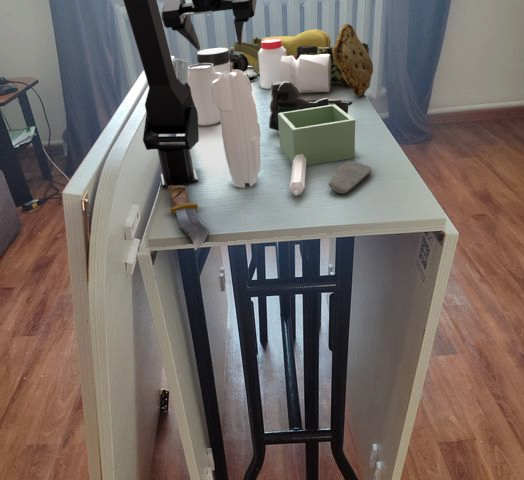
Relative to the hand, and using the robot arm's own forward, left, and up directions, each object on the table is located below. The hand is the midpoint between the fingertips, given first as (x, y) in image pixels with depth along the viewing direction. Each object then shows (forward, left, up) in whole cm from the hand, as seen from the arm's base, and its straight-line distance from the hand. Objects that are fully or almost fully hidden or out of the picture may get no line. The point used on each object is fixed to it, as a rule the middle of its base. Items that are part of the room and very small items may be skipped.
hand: (219, 46), depth 114 cm
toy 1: (+39, -4, -13) cm, 41 cm away
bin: (-27, -13, -16) cm, 34 cm away
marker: (-41, -6, -16) cm, 44 cm away
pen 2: (+7, -21, -16) cm, 27 cm away
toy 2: (+64, -16, -14) cm, 67 cm away
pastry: (+12, -33, -9) cm, 36 cm away
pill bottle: (+30, -18, -16) cm, 38 cm away
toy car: (+18, -30, -11) cm, 37 cm away
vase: (+15, -29, -12) cm, 35 cm away
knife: (-47, +12, -15) cm, 51 cm away
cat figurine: (-7, -17, -16) cm, 24 cm away
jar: (+21, -1, -16) cm, 26 cm away
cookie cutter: (+43, -17, -12) cm, 48 cm away
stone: (-42, -12, -15) cm, 46 cm away
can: (+5, +4, -16) cm, 17 cm away
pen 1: (+37, -8, -15) cm, 41 cm away
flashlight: (-36, +3, -16) cm, 40 cm away
